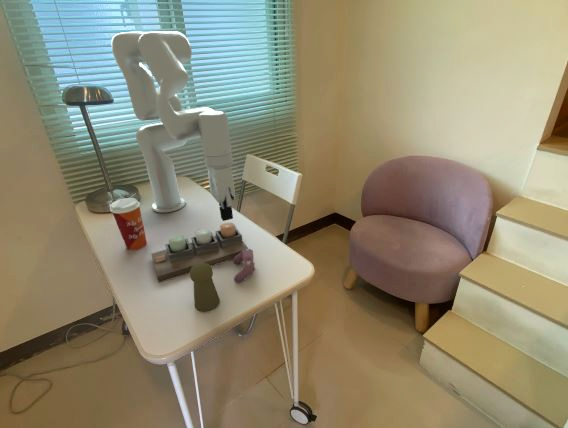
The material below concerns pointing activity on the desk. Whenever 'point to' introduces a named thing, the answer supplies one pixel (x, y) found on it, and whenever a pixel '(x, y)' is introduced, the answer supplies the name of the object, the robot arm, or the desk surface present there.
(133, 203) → the coffee cup
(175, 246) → the pale green egg
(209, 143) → the robot arm
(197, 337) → the desk surface
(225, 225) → the brown egg
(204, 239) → the white egg
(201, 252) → the board
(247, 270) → the video game controller
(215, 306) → the olive green skittle
